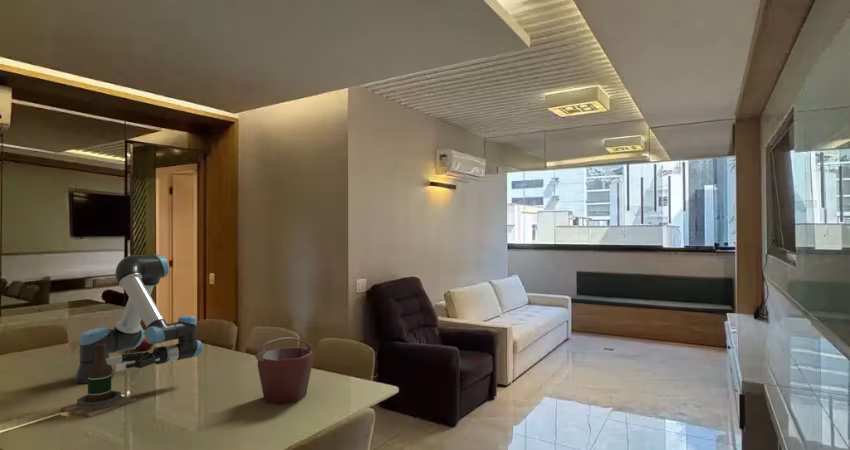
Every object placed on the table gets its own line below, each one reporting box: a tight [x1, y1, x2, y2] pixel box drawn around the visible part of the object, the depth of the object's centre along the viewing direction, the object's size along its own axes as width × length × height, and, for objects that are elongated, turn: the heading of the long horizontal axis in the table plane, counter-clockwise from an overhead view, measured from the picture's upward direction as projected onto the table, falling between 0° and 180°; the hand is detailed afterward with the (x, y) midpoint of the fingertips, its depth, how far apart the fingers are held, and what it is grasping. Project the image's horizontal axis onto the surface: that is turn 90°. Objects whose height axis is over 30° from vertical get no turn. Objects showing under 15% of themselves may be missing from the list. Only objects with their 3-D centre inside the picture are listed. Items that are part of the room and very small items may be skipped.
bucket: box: [254, 336, 314, 406], centre depth 194 cm, size 24×22×25 cm
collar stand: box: [60, 390, 137, 418], centre depth 185 cm, size 18×18×4 cm
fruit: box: [134, 332, 154, 352], centre depth 277 cm, size 11×11×10 cm
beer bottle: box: [87, 343, 112, 402], centre depth 185 cm, size 8×8×24 cm
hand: (109, 365), depth 188 cm, fingers open, 13 cm apart
